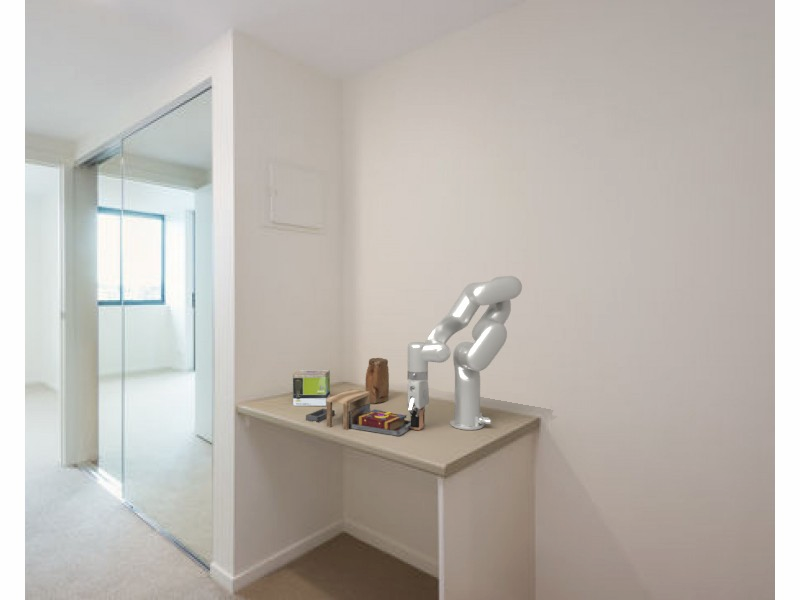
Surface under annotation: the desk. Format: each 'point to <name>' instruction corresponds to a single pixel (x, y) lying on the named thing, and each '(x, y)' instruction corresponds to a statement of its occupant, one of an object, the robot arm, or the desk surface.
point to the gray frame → (318, 415)
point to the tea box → (311, 387)
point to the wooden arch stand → (347, 404)
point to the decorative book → (382, 420)
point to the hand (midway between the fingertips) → (417, 424)
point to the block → (377, 380)
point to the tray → (366, 409)
